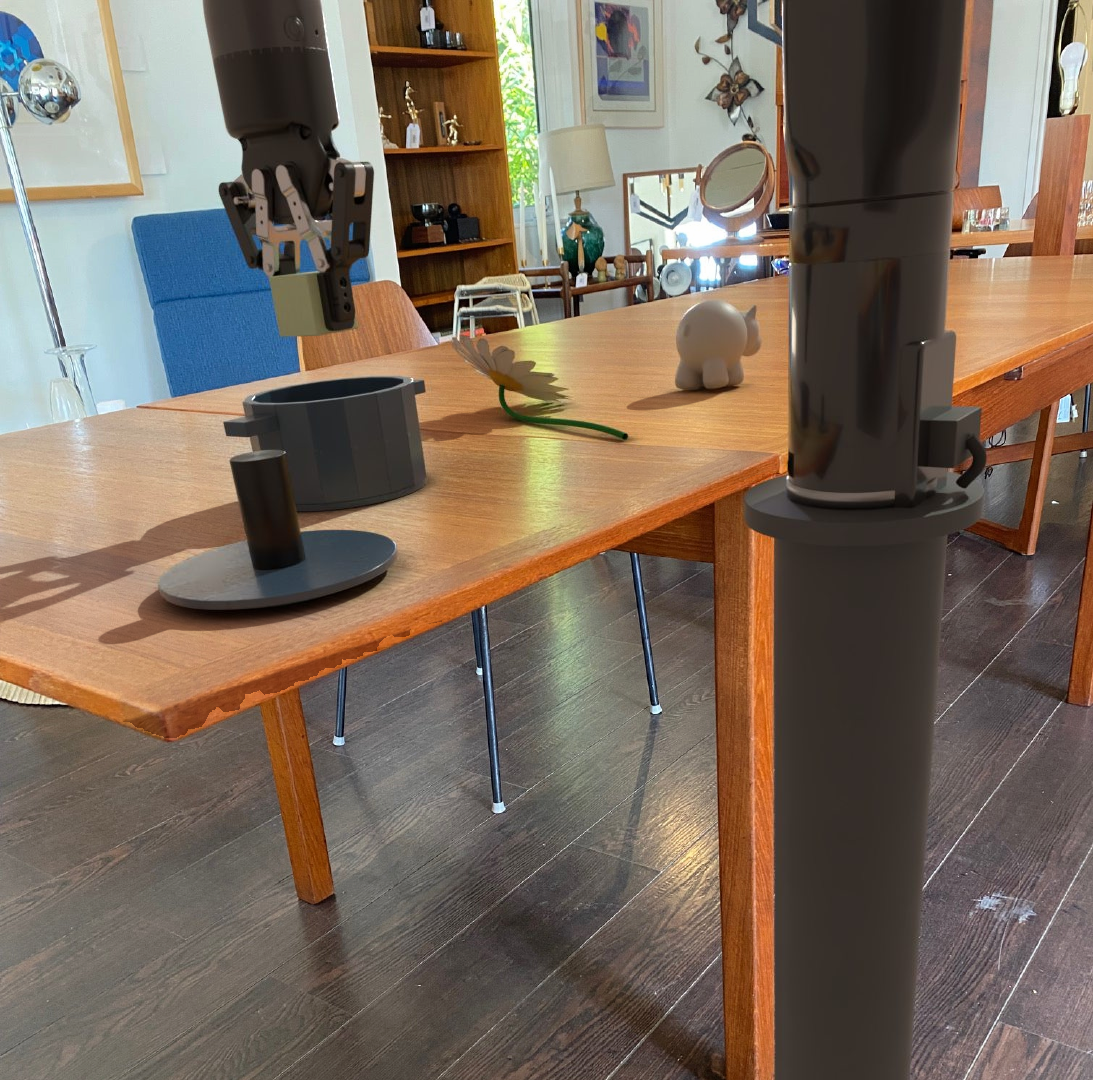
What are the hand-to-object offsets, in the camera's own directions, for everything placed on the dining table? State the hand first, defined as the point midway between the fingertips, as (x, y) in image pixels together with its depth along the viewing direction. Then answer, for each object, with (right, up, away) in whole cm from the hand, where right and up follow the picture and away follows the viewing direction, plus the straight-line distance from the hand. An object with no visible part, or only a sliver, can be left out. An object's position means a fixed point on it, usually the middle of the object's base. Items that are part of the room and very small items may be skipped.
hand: (318, 329), depth 77 cm
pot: (+1, -11, +5) cm, 12 cm away
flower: (+16, 0, +25) cm, 30 cm away
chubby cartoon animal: (+35, +7, +36) cm, 51 cm away
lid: (+1, -20, -16) cm, 25 cm away
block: (0, 0, 0) cm, 0 cm away
